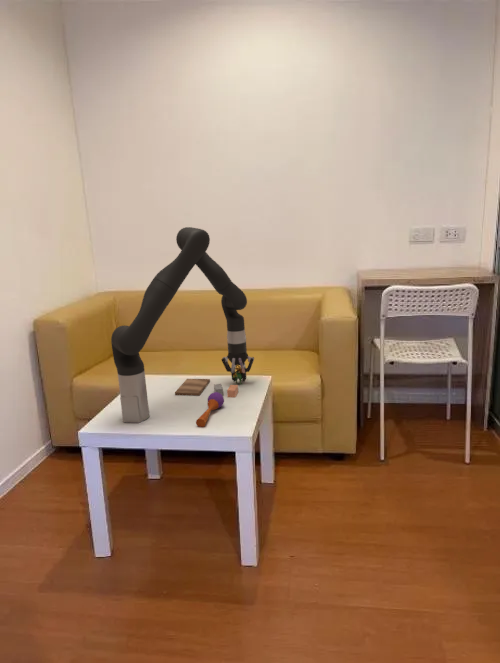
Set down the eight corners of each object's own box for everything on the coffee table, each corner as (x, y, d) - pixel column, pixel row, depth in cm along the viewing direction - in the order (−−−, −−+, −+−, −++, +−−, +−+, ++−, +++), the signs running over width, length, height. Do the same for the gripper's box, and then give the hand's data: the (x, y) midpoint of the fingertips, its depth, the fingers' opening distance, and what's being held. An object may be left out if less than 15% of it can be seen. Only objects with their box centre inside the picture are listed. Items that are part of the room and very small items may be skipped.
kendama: (190, 416, 174) (208, 390, 192) (195, 431, 176) (213, 405, 194) (206, 414, 172) (223, 388, 190) (211, 430, 174) (227, 403, 192)
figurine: (248, 379, 218) (247, 360, 216) (236, 388, 208) (235, 369, 206) (241, 378, 219) (240, 360, 217) (229, 388, 209) (228, 369, 207)
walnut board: (199, 395, 203) (199, 392, 202) (175, 395, 205) (174, 392, 204) (210, 381, 218) (209, 378, 218) (187, 381, 220) (186, 378, 220)
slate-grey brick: (223, 396, 202) (222, 388, 201) (215, 396, 201) (215, 389, 200) (221, 390, 207) (221, 383, 207) (214, 391, 207) (213, 384, 206)
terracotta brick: (235, 397, 199) (234, 390, 198) (227, 397, 200) (227, 390, 199) (238, 392, 205) (237, 385, 204) (230, 392, 205) (230, 384, 204)
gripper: (217, 343, 207) (220, 384, 211) (252, 343, 204) (254, 384, 208) (221, 338, 214) (224, 377, 218) (255, 338, 211) (257, 378, 215)
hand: (239, 380), depth 213 cm, fingers closed on figurine, 3 cm apart
